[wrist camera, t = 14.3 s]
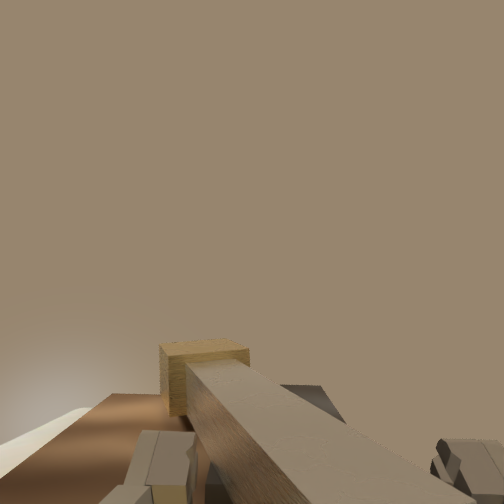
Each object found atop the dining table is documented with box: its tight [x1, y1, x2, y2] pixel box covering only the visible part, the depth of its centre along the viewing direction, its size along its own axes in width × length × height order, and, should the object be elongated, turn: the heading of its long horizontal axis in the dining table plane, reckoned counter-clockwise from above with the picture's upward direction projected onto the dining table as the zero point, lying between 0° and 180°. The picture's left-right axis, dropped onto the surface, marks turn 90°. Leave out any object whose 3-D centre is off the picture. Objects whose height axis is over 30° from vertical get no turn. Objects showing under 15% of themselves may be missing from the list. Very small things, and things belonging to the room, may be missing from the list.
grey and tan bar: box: [159, 338, 477, 504], centre depth 19 cm, size 24×5×4 cm, turn 18°
